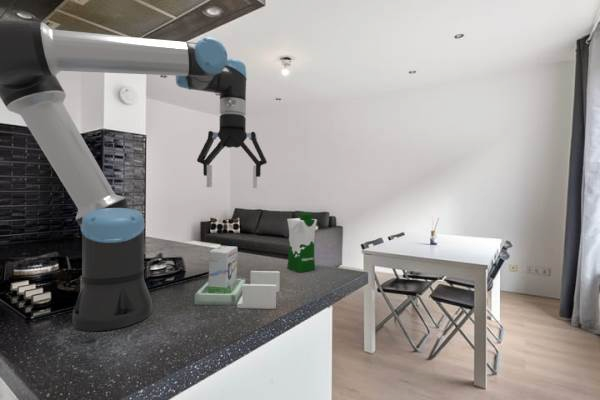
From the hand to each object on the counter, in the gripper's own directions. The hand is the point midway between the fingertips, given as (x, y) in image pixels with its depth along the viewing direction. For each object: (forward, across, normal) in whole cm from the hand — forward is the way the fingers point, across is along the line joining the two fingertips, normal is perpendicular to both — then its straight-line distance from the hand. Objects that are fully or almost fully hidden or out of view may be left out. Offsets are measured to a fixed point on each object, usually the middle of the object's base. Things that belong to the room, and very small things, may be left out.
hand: (232, 187), depth 95 cm
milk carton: (+29, +21, +18) cm, 40 cm away
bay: (+29, +11, -13) cm, 33 cm away
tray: (+29, 0, -11) cm, 31 cm away
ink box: (+28, 0, -11) cm, 30 cm away
